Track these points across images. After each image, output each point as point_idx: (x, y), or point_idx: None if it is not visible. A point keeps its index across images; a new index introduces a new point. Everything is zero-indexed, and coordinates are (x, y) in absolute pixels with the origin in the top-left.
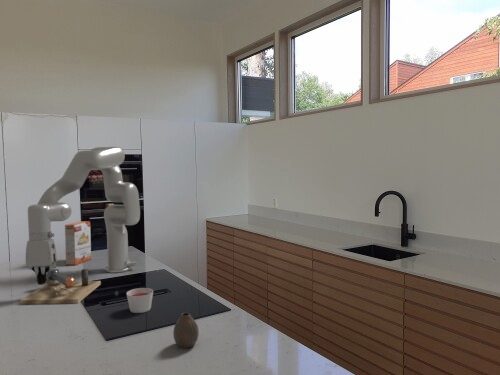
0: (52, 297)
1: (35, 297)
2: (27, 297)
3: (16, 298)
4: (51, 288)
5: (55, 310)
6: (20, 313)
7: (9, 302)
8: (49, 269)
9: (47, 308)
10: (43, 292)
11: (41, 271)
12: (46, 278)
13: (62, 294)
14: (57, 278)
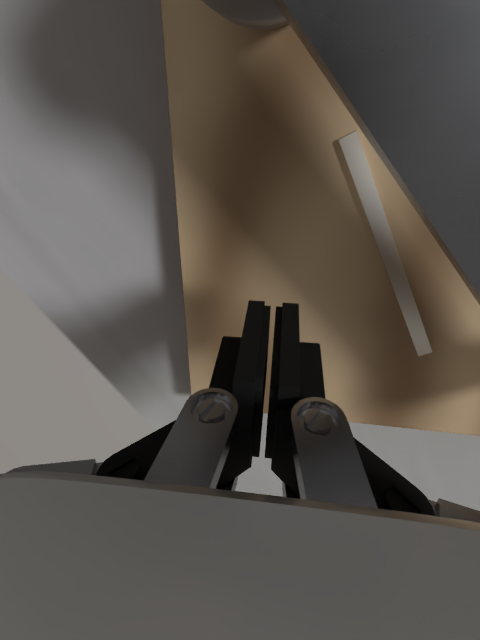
0: (398, 394)
1: (267, 375)
2: (208, 367)
3: (88, 277)
4: (309, 140)
5: (440, 486)
6: (273, 485)
7: (103, 346)
8: (395, 481)
9: (389, 459)
10: (277, 272)
11: (247, 432)
12: (320, 364)
13: (469, 344)
14: (439, 241)
